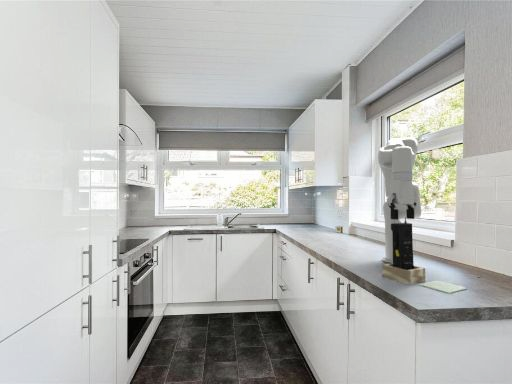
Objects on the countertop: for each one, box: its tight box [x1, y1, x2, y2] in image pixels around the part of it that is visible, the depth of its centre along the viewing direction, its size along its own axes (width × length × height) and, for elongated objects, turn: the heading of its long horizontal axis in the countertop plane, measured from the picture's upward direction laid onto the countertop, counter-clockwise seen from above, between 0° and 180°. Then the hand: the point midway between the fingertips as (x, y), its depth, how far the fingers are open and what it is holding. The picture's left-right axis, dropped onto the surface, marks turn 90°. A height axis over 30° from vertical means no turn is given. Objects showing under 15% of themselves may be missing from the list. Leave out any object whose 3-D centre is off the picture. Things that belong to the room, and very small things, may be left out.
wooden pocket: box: [381, 263, 426, 285], centre depth 119 cm, size 10×12×5 cm
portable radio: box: [391, 217, 415, 270], centre depth 119 cm, size 8×6×25 cm
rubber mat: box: [418, 280, 468, 295], centre depth 108 cm, size 11×11×1 cm
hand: (402, 219), depth 119 cm, fingers open, 9 cm apart
